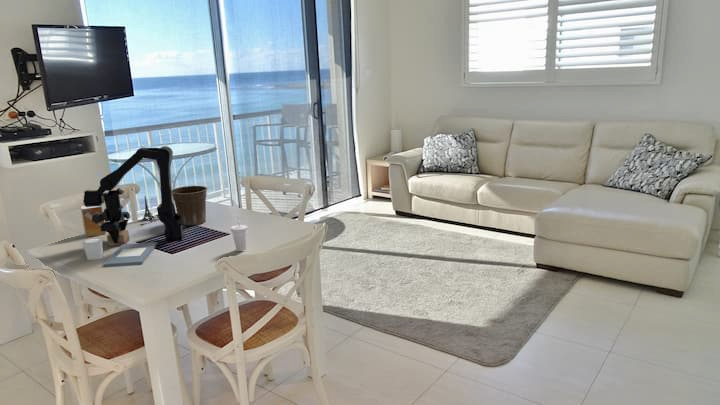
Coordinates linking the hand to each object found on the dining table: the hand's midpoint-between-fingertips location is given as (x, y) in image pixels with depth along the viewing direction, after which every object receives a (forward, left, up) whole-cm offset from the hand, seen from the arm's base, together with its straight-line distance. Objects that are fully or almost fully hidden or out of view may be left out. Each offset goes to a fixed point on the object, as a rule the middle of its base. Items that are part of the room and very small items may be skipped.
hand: (118, 240), depth 220 cm
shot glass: (+4, +16, -1) cm, 17 cm away
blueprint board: (-10, +16, -1) cm, 19 cm away
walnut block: (0, 0, -1) cm, 1 cm away
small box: (+15, -15, -1) cm, 21 cm away
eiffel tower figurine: (-3, -33, -2) cm, 33 cm away
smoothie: (-53, +19, -1) cm, 56 cm away
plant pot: (-26, -24, -1) cm, 35 cm away
